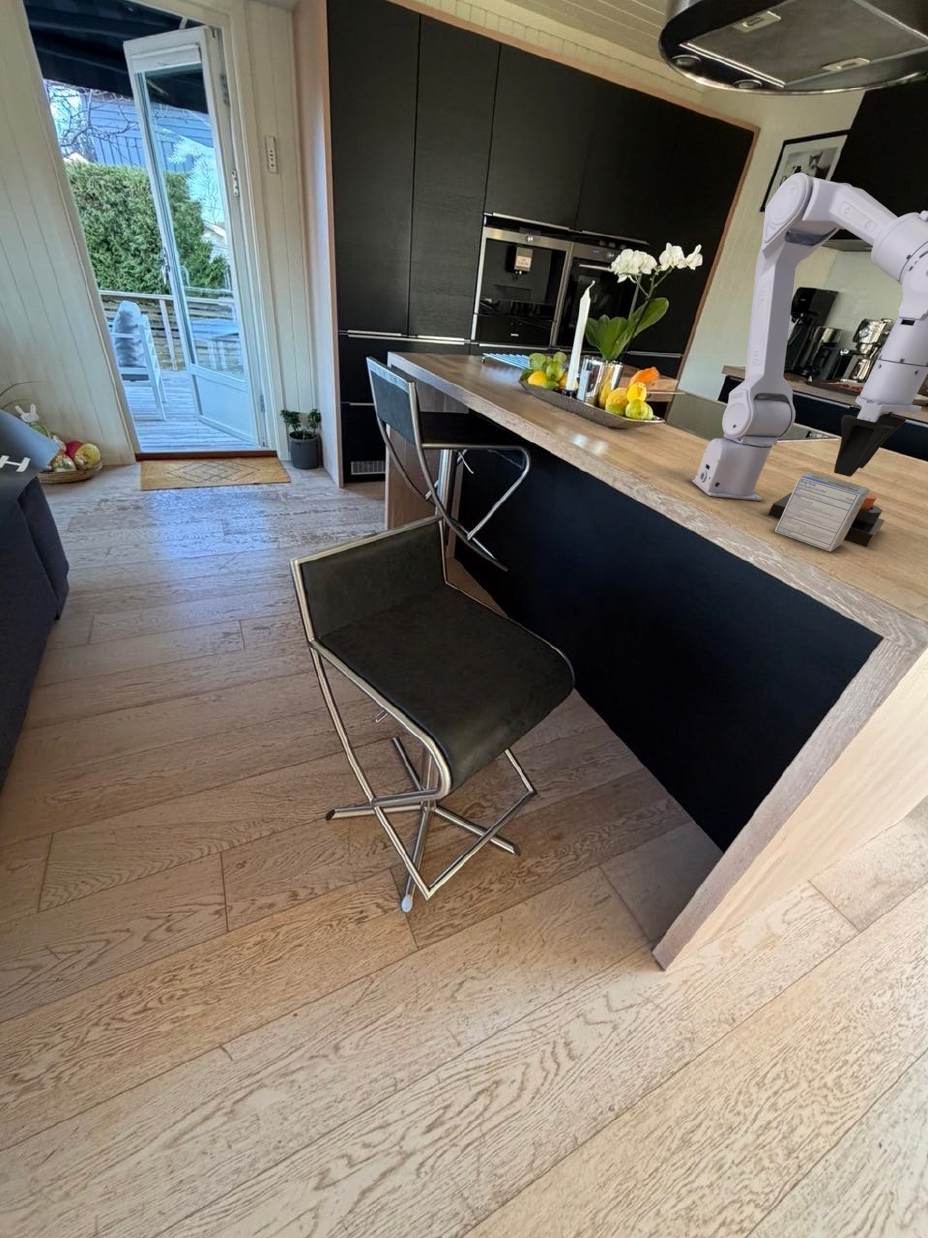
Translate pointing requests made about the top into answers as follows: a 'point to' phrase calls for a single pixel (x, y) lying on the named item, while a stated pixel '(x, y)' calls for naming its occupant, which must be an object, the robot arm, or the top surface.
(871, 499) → the button
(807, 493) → the medicine box
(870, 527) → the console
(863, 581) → the top surface
